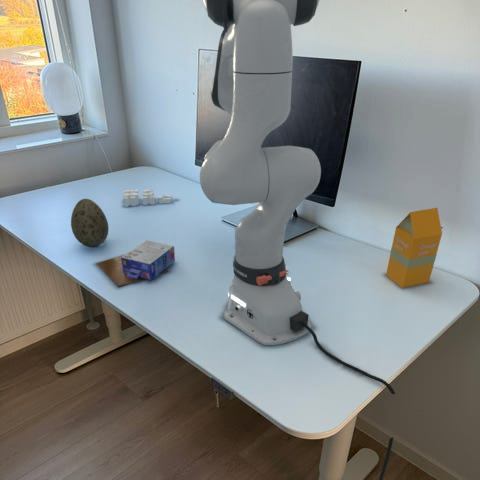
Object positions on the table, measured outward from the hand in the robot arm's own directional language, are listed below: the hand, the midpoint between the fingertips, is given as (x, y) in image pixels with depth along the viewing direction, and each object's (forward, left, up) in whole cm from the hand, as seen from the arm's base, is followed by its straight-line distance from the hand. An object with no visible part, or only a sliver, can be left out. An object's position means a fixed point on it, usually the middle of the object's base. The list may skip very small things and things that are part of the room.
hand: (214, 183), depth 136 cm
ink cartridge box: (-2, +19, -16) cm, 25 cm away
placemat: (-3, +29, -19) cm, 35 cm away
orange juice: (-47, -36, -19) cm, 62 cm away
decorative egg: (+17, +34, -19) cm, 43 cm away
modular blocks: (+44, +6, -19) cm, 49 cm away
